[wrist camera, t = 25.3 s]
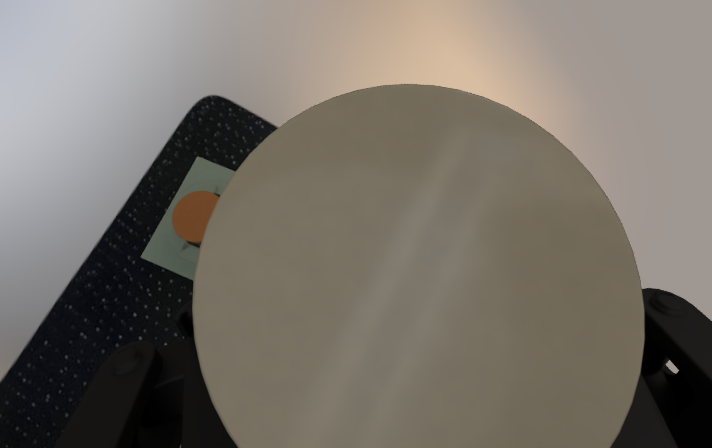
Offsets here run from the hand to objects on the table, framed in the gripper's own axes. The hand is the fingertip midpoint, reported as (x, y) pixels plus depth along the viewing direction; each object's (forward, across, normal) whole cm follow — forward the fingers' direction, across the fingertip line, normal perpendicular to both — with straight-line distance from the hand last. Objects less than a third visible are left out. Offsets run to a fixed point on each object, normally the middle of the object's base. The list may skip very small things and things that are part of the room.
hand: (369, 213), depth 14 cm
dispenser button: (+9, -12, -5) cm, 16 cm away
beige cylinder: (0, 0, -5) cm, 5 cm away
